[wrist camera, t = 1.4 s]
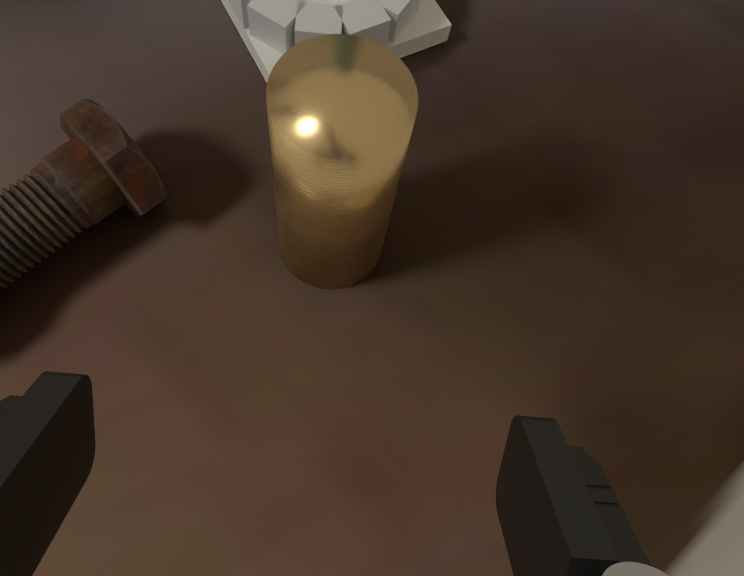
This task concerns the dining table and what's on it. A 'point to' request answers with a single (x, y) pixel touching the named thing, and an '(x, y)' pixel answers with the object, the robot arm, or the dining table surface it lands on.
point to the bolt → (74, 189)
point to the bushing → (337, 153)
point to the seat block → (335, 24)
